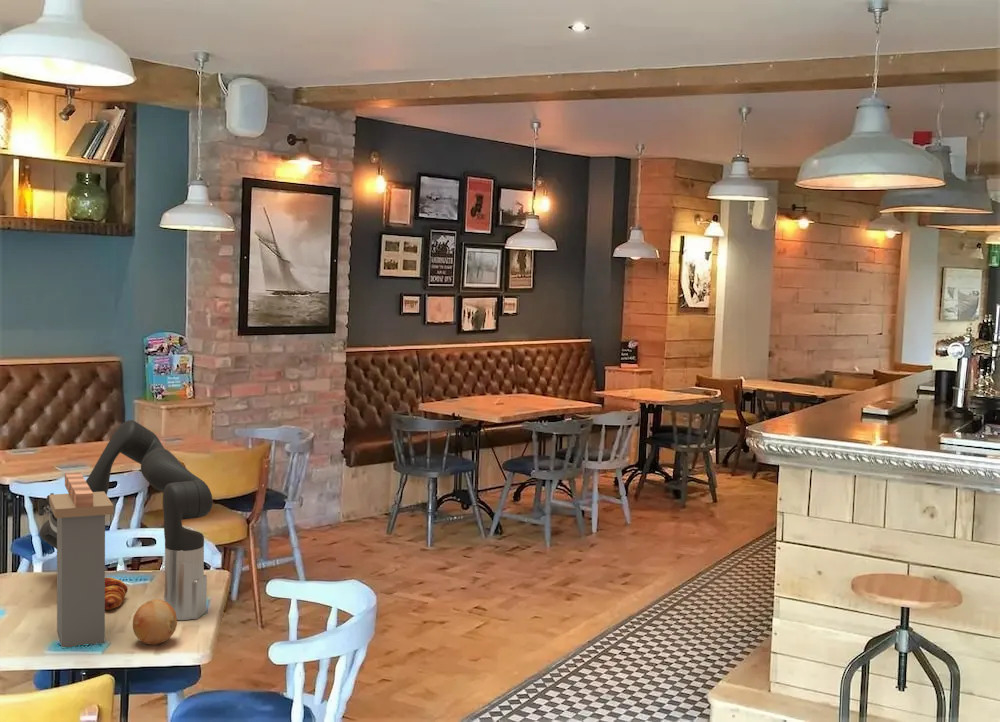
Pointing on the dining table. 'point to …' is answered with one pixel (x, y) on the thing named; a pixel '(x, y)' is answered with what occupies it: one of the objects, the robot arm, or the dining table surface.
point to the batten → (78, 490)
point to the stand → (80, 569)
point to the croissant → (114, 593)
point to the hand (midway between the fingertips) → (71, 495)
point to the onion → (154, 622)
